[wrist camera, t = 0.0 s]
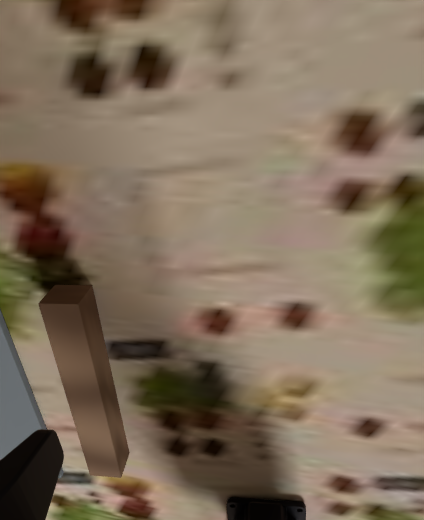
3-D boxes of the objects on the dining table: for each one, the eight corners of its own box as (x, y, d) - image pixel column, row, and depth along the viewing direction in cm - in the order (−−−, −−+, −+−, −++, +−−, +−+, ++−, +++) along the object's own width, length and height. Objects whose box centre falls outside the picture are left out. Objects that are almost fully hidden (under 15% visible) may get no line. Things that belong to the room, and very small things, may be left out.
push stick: (130, 449, 33) (121, 477, 31) (101, 447, 33) (90, 475, 31) (94, 282, 26) (78, 304, 24) (57, 282, 26) (38, 303, 24)
